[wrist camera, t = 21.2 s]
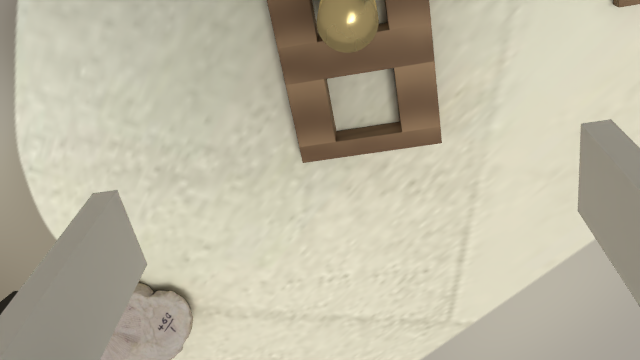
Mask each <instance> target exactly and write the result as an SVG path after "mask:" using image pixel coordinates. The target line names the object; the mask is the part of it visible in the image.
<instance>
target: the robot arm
mask: <svg viewBox="0 0 640 360" xmlns="http://www.w3.org/2000/svg"><path fill="white" fill-rule="evenodd" d="M578 212H579V213H580V215H581V217H582V218H583V220H584V221H585V223H586V224H587V226H588V227H589V229H590V230H591V232H592V234H593V235H594V237H595V238H596V240H597V241H598V243H599V244H600V246H601V247H602V249H603V250H604V252H605V254H606V255H607V257H608V258H609V260H610V261H611V263H612V264H613V266H614V267H615V269H616V270H617V272H618V274H619V275H620V277H621V278H622V280H623V281H624V283H625V285H626V286H627V288H628V289H629V291H630V292H631V294H632V295H633V297H634V298H635V300H636V301H637V303H638V305H639V306H640V148H639V147H638V146H637V145H636V144H635V143H634V142H633V141H632V140H631V139H630V138H629V137H628V136H627V135H626V134H625V133H624V132H623V131H622V130H621V129H620V128H619V127H618V126H617V125H616V124H615V123H614V122H613V121H612V120H604V121H597V122H590V123H583V124H581V137H580V164H579V190H578ZM146 266H147V263H146V260H145V258H144V255H143V253H142V250H141V248H140V245H139V243H138V240H137V238H136V235H135V233H134V230H133V228H132V226H131V223H130V221H129V218H128V216H127V213H126V211H125V208H124V206H123V203H122V201H121V198H120V196H119V193H118V191H117V190H114V191H107V192H100V193H93V194H92V195H91V196H90V198H89V199H88V200H87V202H86V203H85V204H84V206H83V207H82V208H81V210H80V211H79V212H78V214H77V215H76V216H75V217H74V219H73V220H72V221H71V223H70V224H69V225H68V227H67V228H66V229H65V231H64V232H63V233H62V235H61V236H60V237H59V239H58V240H57V241H56V242H55V244H54V245H53V246H52V248H51V249H50V250H49V252H48V253H47V254H46V256H45V257H44V258H43V260H42V261H41V262H40V263H39V265H38V266H37V268H36V269H35V270H34V271H33V273H32V274H31V275H30V277H29V278H28V279H27V281H26V282H25V283H24V285H23V286H22V287H21V288H20V290H19V291H14V292H12V293H11V294H10V295H8V296H7V297H6V298H5V299H3V300H2V301H1V302H0V360H100V359H101V357H102V355H103V353H104V351H105V349H106V347H107V345H108V343H109V341H110V339H111V337H112V335H113V332H114V330H115V328H116V326H117V324H118V322H119V320H120V318H121V316H122V314H123V312H124V310H125V308H126V306H127V304H128V302H129V300H130V298H131V296H132V294H133V292H134V290H135V288H136V286H137V284H138V282H139V280H140V278H141V276H142V274H143V272H144V270H145V268H146Z"/></svg>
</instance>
